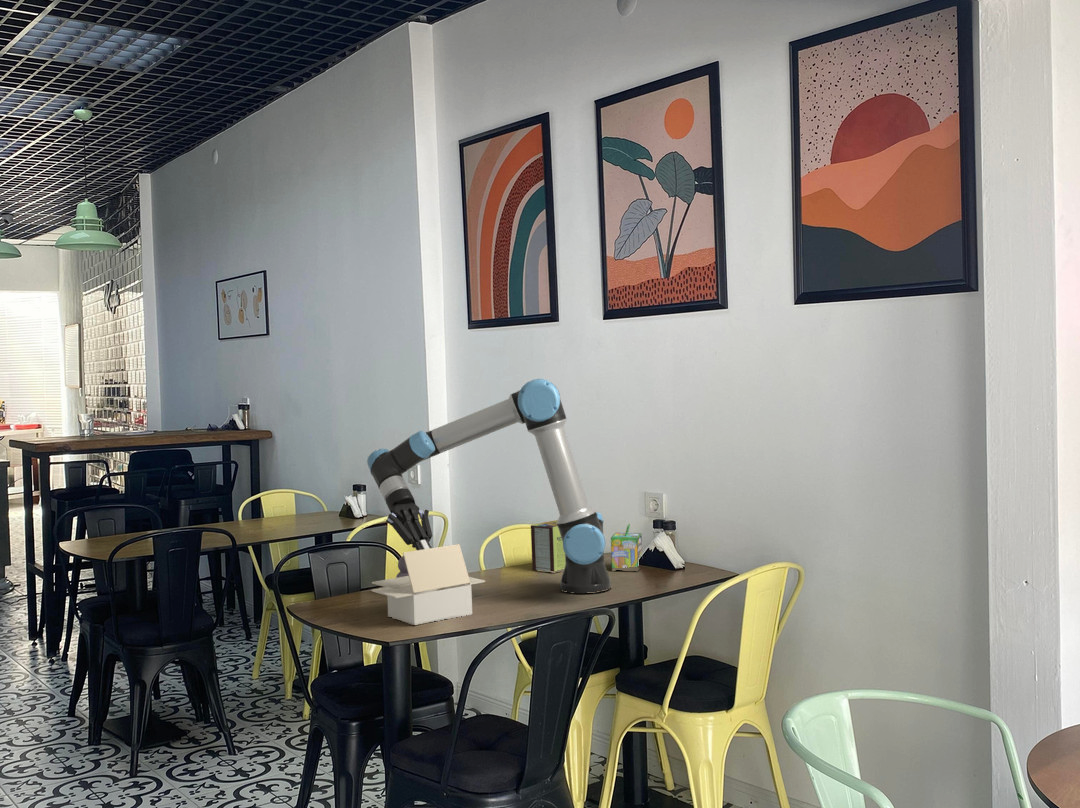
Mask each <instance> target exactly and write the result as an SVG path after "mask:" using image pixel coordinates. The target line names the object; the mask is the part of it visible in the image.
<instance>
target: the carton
mask: <svg viewBox="0 0 1080 808" xmlns="http://www.w3.org/2000/svg"><path fill="white" fill-rule="evenodd" d="M469 580H470V583H467V584H461V585H456V586H450V587H445V588H439V589H434V590H428V591H423V592H417V593H413V590H412V586H411V583H410V579H409V576H404V577H399V578H396V577H394V578H386V579H383V580H382V579H381V580H377V581H372V582H371V584H373V585H377V586H379V587H380V588H375V589H371V593H372V592H374V593H377V594H379V595H383V596H386V597H387V599H386V600H387V618H388V617H392V618H394V619H398V620H401V621H404V622H407V623H410V624H413V625H418V624H423V623H428V622H433V623H435V622H434V621H438V622H441V621H440V620H443V621H445V620H444V619H448V620H452V619H451V618H453V619H457V618H456V617H458V618H462V617H466V615H467V616H471V615H473V599H472V598H473V595H472V594H473V593H472V585H475V584H482V583H485V582H486V580H485V579H480V578H476V577H472V576H469ZM461 616H462V617H461ZM394 619H393V620H394ZM428 624H429V623H428Z"/></svg>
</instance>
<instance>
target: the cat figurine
mask: <svg viewBox="0 0 1080 808" xmlns="http://www.w3.org/2000/svg"><path fill="white" fill-rule="evenodd" d="M397 568H398V570H399V572H398V573H397V574H396V577H395V578H399V577H404V576H409V575H408V571H407V567H406V563H405V559H404V556H401V557H400V558H399V560H398V562H397Z"/></svg>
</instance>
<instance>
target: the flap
mask: <svg viewBox="0 0 1080 808" xmlns="http://www.w3.org/2000/svg"><path fill="white" fill-rule="evenodd" d="M402 555H403V556H404V559H405V563H406V567H407V571H408V575H409V579H410V583H411V586H412V590H413V593H417V592H423V591H428V590H434V589H439V588H445V587H450V586H456V585H461V584H467V583H470V580H469V577H470V576H469V573H468V570H467V569H468V568H467V566H466V562H465V559H464V554H463V552H462V548H461V545H460V544H459V543H458V544H452V545H445V546H444V545H443V546H438V547H437V546H436V547H431V548H430V549H423V550H411V551H410V550H409V551H405V552H402Z"/></svg>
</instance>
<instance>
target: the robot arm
mask: <svg viewBox="0 0 1080 808" xmlns="http://www.w3.org/2000/svg"><path fill="white" fill-rule="evenodd" d="M565 412H566V411H565V410H564V406H563V403H562V401H561V394H560V391H559V389H558V388H557V386H556V385H555V384H554V383H552V382H551V381H549V380H547V379H544V378H535V379H532V380H530V381H527V382H526V383H524V385H523V386H521V389H520V390H517V391H516V392H513V393H510V395H509V397H508V398H506V399H505V400H503V401H500V402H497V403H494V404H493V405H490V406H487V407H485V408H483V409H480V410H478V411H476V412H473V413H470V414H468V415H465V416H462V417H461V418H460V417H459V418H458V419H455V420H453V421H450V422H449V423H446V424H443V425H441V426H439V427H437V428H434V429H431V430H429V431H426V432H425V431H423V430H419V431H417V432H415V433H413V434H412V435H410V436H409V437H407V439H405V440H404V441H402V442H401V443H400V444H398V445H397V446H395V447H394V448H392V449H391V450H389V449H388V448H379V449H378V450H374V451H373V452H371V453H370V454H369V456H367V460H366V463H367V466H368V469H369V471H370V475H371V476H372V477H373V480H374V482H375V483H376V485H377V487H378V490H379V492H380V494H381V495H382V498H383V500H384V501H385V504H386V506H387V507H388V510H389V512H390V513H389V514H388V516H387V518H386V520H385V522H386V523H387V524H389V525H390V526H391V527H392V528H393V529H394V531H395V532H396V533H397V535H399V537H400V539H402V540H403V542H404V543H405V545H407V546H410V545H411V548H413V549H415V551H417V550H423V549H430V548H432V546H431V543H430V541H431V539H432V538H433V532H432V528H431V523H430V520H429V513H430V511H429V510H428V509H425V510H422V509H420V507H419V506H418V505H417V504H416V500H415V498H414V496H413V494H412V492H411V490H410V487H409V486H408V484H407V482H406V481H405V480H406V479H404V477H403V474H405V473H406V472H408V471H409V470H410V469H411V468H413V467H415V466H416V465H418V464H420V463H421V462H423V461H426V460H429V459H430V458H433V457H435V456H438V455H439V454H442V453H445V452H447V451H451V450H452V449H454V448H458V447H460V446H462V445H465V444H468V443H470V442H472V441H475V440H476V439H477V440H478V439H479V438H482V437H485V436H488V435H489V434H491V433H494V432H497V431H500V430H501V429H504V428H507V427H511V426H512V425H514V424H517V423H520V424H522V425H524V424H525V428H526V430H527V432H528V433H530V434H532V435H534V437H535V442H536V443H537V446H538V450H539V453H540V456H541V460H542V462H543V465H544V469H545V472H546V476H547V479H548V482H549V484H550V488H551V491H552V494H553V498H554V501H555V505H556V507H557V511H558V513H559V517H558V519H557V520H558V521H557V525H558V528H559V532H560V535H561V538H562V541H563V549H564V552H565V568H564V571H563V572H562V575H561V579H560V583H559V585H560V591H561V590H563V591H567V592H574V593H587V592H597V591H602V590H606V589H609V588H610V587H611V588H612V584H611V583H612V582H611V577H610V575H609V572H608V570H607V566H606V564H605V549H606V539H605V536H604V521H605V520H604V517H603V514H602V513H601V512H597V511H596V509H594V508H592V507H591V506H589V504H588V501H587V497H586V494H585V491H584V487H583V484H582V481H581V478H580V474H579V472H578V469H577V468H578V467H577V465H576V462H575V459H574V456H573V453H572V449H571V446H570V443H569V440H568V437H567V433H566V430H565V423H566V422H567V419H568V418H567V416H566V413H565ZM420 520H421V521H420ZM563 591H562V592H563Z"/></svg>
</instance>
